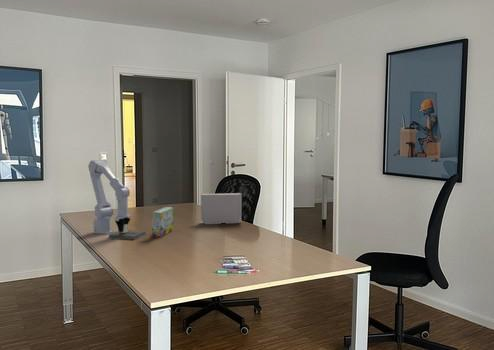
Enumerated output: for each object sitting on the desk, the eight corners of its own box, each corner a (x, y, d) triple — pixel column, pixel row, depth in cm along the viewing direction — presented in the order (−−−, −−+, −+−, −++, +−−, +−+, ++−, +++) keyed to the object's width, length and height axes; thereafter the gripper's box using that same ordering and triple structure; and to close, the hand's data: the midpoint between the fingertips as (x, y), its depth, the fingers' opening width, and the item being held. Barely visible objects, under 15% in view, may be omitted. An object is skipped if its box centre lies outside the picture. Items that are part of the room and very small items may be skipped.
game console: (241, 223, 320) (242, 194, 318) (202, 224, 313) (202, 195, 311) (240, 221, 325) (240, 193, 324) (200, 222, 319) (201, 193, 317)
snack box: (160, 238, 273) (160, 212, 271) (151, 237, 274) (151, 212, 272) (173, 230, 293) (173, 206, 292) (165, 230, 294) (164, 206, 293)
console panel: (109, 238, 271) (109, 234, 271) (121, 233, 284) (121, 229, 284) (134, 239, 267) (134, 236, 267) (145, 234, 281) (145, 231, 280)
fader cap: (118, 232, 275) (118, 224, 274) (121, 231, 279) (121, 223, 278) (124, 233, 274) (124, 225, 273) (127, 231, 278) (127, 224, 277)
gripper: (122, 210, 267) (123, 234, 268) (134, 206, 281) (134, 228, 282) (111, 209, 269) (111, 233, 270) (123, 206, 283) (124, 228, 284)
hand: (122, 231), depth 276 cm, fingers closed on fader cap, 4 cm apart
